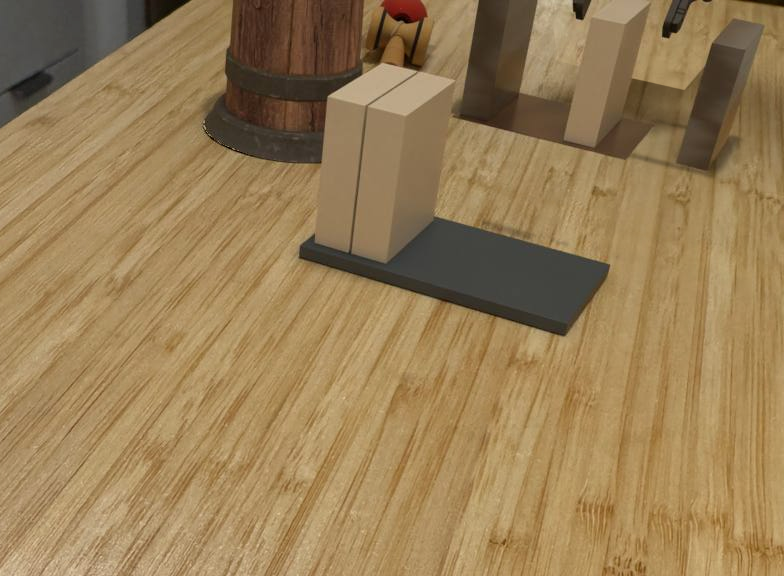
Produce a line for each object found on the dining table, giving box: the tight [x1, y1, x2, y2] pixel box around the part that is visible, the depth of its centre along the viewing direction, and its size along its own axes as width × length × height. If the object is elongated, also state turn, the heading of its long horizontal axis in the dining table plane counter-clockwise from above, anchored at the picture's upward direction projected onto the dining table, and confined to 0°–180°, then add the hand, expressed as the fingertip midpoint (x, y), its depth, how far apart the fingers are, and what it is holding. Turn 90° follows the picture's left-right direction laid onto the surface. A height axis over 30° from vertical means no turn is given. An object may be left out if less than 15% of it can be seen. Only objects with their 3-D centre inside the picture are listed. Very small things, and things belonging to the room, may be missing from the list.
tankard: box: [204, 0, 365, 164], centre depth 106 cm, size 24×17×20 cm
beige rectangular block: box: [563, 0, 652, 148], centre depth 111 cm, size 3×10×11 cm, turn 153°
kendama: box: [364, 0, 435, 68], centre depth 126 cm, size 8×6×18 cm
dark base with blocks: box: [298, 63, 611, 336], centre depth 87 cm, size 22×12×12 cm, turn 63°
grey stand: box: [451, 0, 765, 172], centre depth 111 cm, size 26×12×12 cm, turn 63°
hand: (621, 23), depth 109 cm, fingers open, 8 cm apart
